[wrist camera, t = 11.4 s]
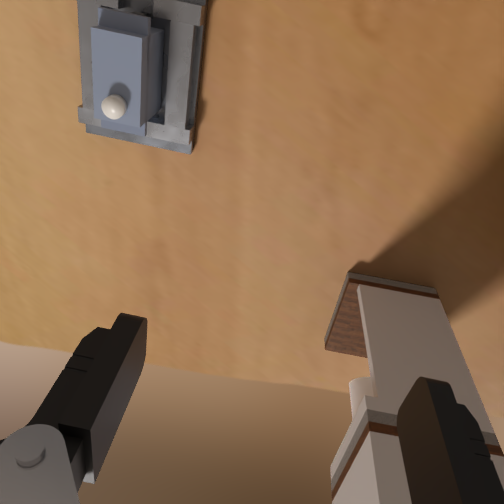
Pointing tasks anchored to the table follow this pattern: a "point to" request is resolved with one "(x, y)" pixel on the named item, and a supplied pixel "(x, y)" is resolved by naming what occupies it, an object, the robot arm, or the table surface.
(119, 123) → the servo
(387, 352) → the white alcove tower
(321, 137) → the table surface
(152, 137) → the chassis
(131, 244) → the table surface
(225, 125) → the table surface
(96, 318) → the table surface
